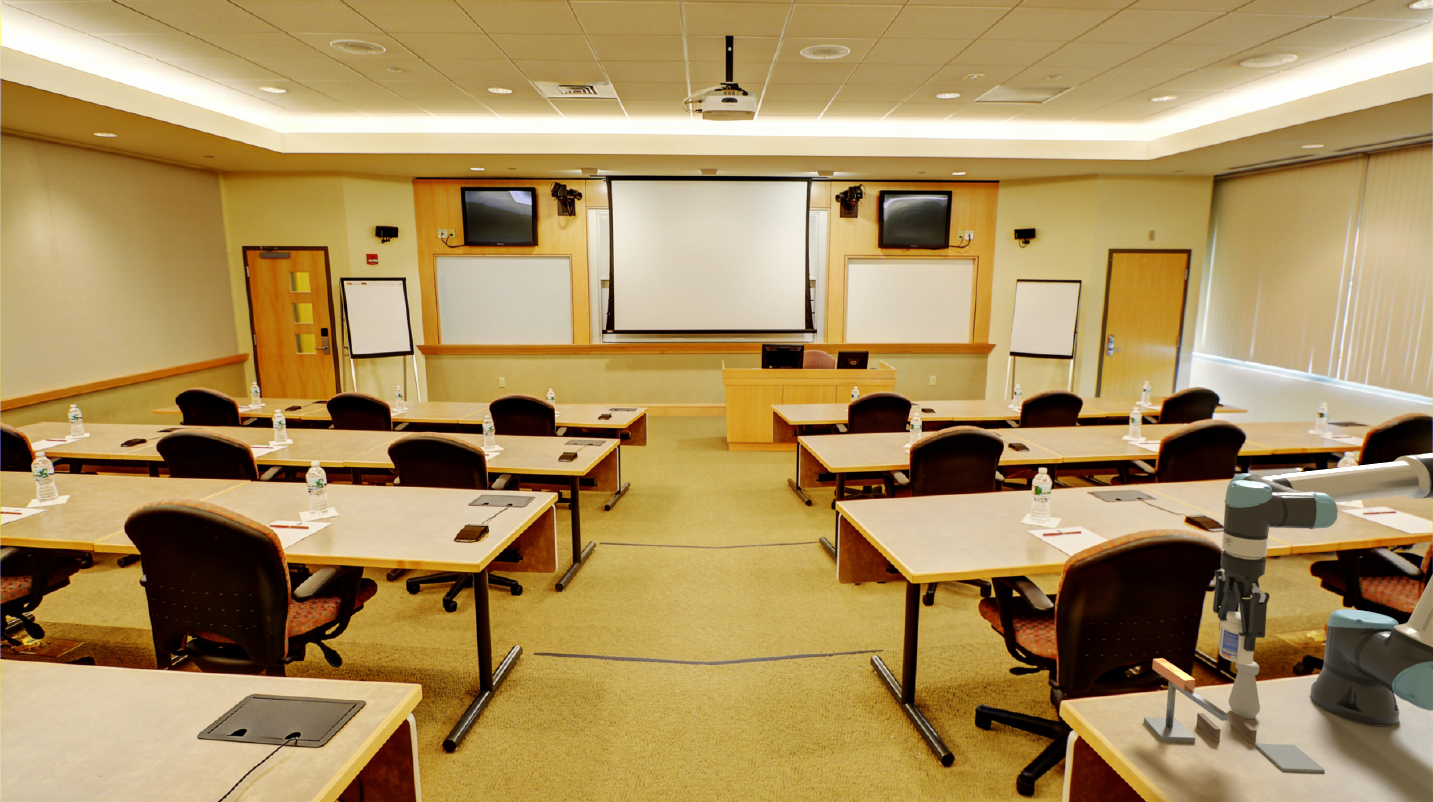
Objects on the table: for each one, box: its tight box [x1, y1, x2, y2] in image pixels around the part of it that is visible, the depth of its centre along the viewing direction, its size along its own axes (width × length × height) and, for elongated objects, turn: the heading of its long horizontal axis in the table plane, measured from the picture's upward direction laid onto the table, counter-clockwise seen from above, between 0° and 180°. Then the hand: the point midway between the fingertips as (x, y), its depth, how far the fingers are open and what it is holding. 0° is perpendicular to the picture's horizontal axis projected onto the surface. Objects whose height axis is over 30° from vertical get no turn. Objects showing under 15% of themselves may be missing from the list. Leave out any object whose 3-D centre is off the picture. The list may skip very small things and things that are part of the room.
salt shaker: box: [1227, 660, 1261, 720], centre depth 156 cm, size 6×6×13 cm
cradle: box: [1196, 712, 1257, 744], centre depth 150 cm, size 9×6×3 cm
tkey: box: [1152, 657, 1229, 728], centre depth 145 cm, size 18×2×14 cm, turn 7°
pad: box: [1254, 743, 1326, 774], centre depth 141 cm, size 8×8×1 cm
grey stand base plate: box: [1143, 717, 1196, 744], centre depth 151 cm, size 7×7×1 cm
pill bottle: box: [1218, 611, 1242, 663], centre depth 146 cm, size 5×5×10 cm
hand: (1234, 655), depth 147 cm, fingers closed on pill bottle, 5 cm apart
